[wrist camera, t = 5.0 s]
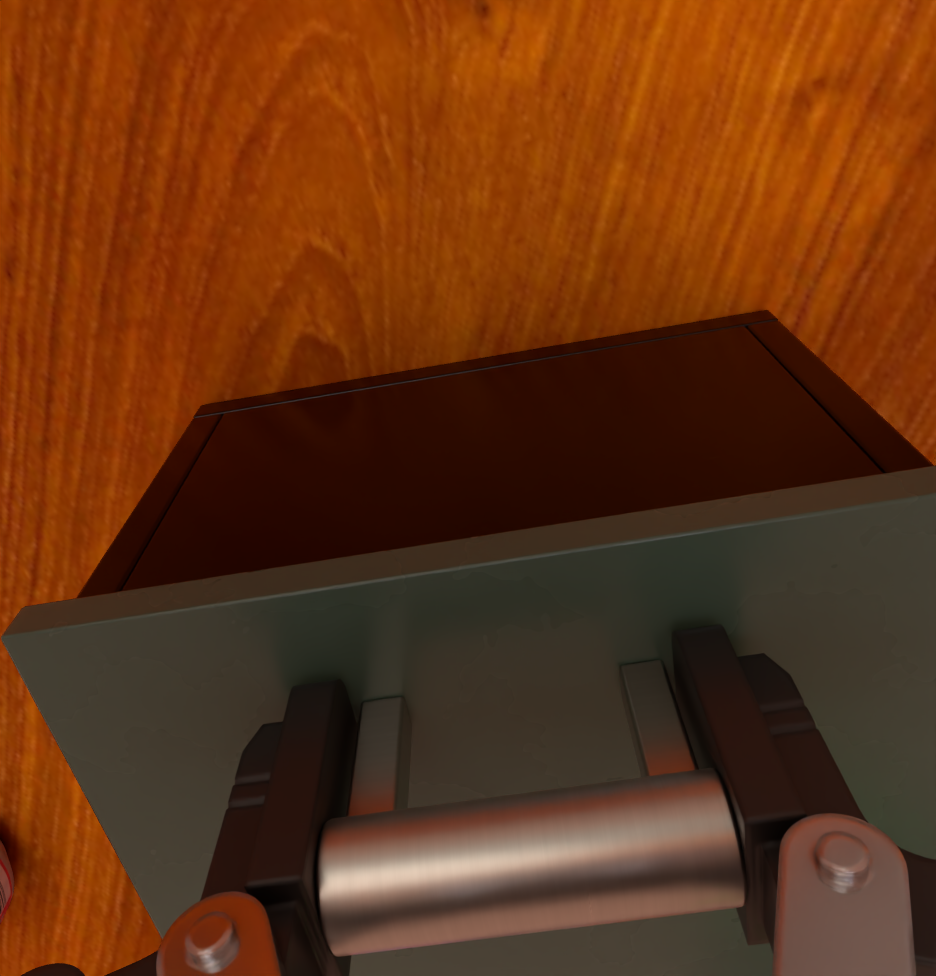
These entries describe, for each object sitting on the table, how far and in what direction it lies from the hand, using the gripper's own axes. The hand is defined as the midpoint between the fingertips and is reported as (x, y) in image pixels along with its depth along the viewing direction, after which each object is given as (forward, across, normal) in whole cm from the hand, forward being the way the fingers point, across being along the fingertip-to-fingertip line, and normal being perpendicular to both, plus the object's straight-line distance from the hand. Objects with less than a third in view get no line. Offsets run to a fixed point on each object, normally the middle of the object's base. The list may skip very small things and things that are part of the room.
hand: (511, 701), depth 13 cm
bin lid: (+1, 0, +3) cm, 3 cm away
